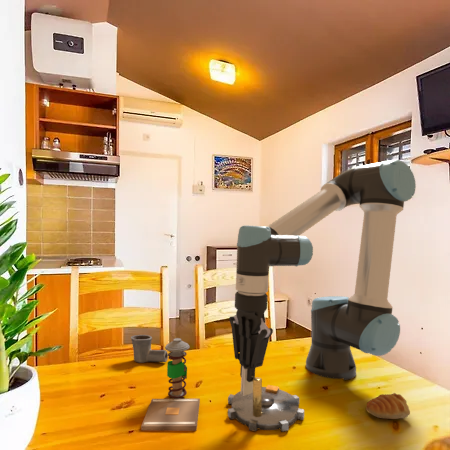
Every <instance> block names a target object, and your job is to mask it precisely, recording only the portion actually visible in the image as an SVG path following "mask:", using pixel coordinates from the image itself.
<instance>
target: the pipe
mask: <svg viewBox="0 0 450 450" xmlns="http://www.w3.org/2000/svg"><path fill="white" fill-rule="evenodd" d="M130 339H131V344H132V349H133V351H132V352H133V361H134V362H136V363H138V364H139V363H140V364H141V363H143V364H144V363H166V362H167V361H168V360H169V356H168V353H169V352H168V350H166V349H152V340H153V337H152V336H151V335H149V334H136V335H132V336H130Z"/></svg>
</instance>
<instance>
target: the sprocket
mask: <svg viewBox="0 0 450 450" xmlns="http://www.w3.org/2000/svg"><path fill="white" fill-rule="evenodd" d="M262 383H263V379H262V378H261V377H259V376H258V377H257V376H255V378H253V393H251V394H248V395H245V396H243V395H242V394H241V390H240V391H238V392H237V393H236V394H232V393H230V394H229V395H228V397H227V404H229V405H231V408H228V409H227V417H228V418H229V419H230V420H234V419H235V420H236V421H237V422H239V423H241V424H242V425H244V426H246V427H248V431H253V432H258V431H257V430H263V431H277V430H280V431H281V433H282V432H286V431H289V427H290V426H293V425H294V423H296V421H297V420H300V421H304V418H305V409H303V408H300V407H299V405H300V397H299V396H298V395H297V394H294V395H293V394H290V393H288V392H287V391H285V390H282V389H280V387H279V386H276V385H270V384H267V386H263V385H262Z"/></svg>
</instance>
